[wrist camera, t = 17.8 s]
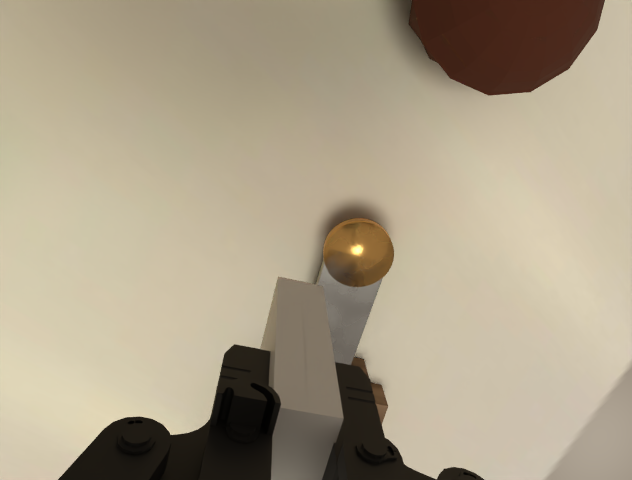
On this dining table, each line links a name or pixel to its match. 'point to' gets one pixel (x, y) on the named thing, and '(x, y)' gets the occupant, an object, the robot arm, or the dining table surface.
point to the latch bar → (352, 280)
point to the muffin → (504, 39)
